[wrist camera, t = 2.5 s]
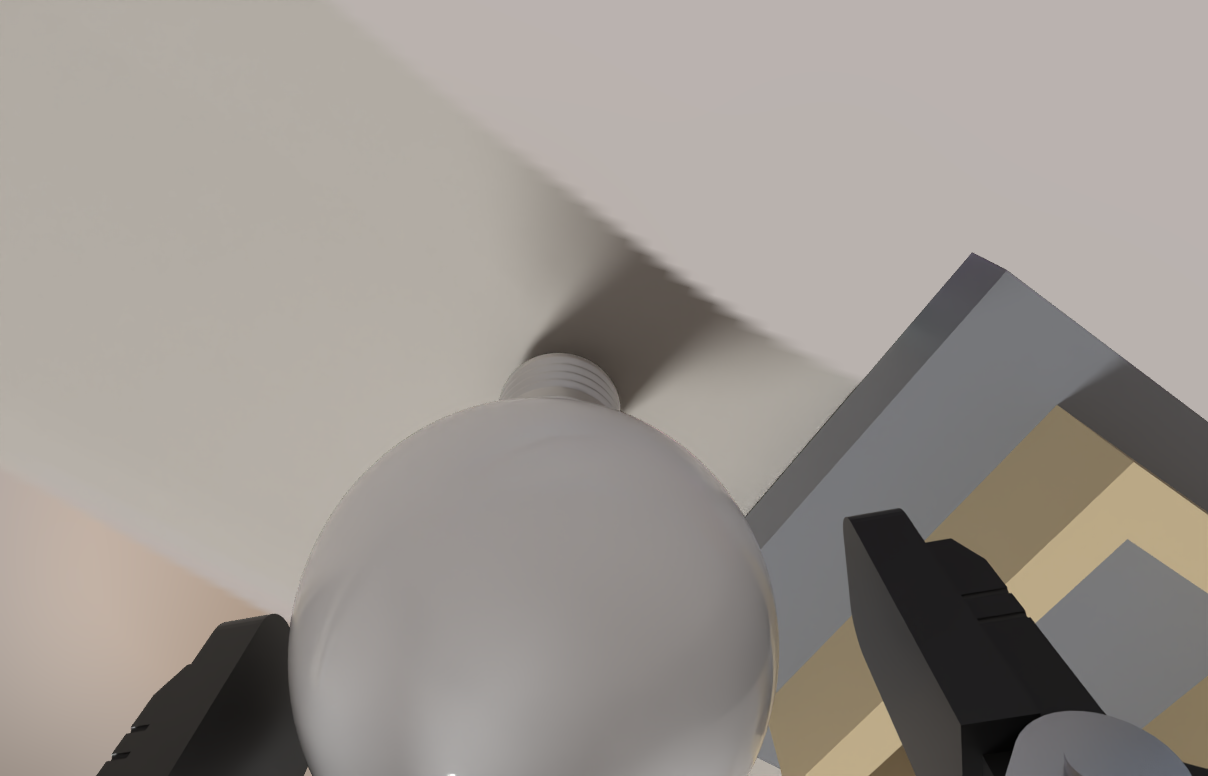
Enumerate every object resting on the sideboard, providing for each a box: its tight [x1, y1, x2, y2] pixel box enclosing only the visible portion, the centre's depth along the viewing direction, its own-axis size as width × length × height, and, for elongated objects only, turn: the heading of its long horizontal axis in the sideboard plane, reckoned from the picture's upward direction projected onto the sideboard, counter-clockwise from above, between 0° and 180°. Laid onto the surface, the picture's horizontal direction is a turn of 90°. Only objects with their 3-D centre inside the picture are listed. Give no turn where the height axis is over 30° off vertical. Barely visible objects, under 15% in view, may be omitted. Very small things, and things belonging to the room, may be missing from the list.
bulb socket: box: [745, 253, 1208, 776], centre depth 19 cm, size 16×13×4 cm
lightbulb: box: [287, 353, 779, 776], centre depth 13 cm, size 6×6×11 cm
